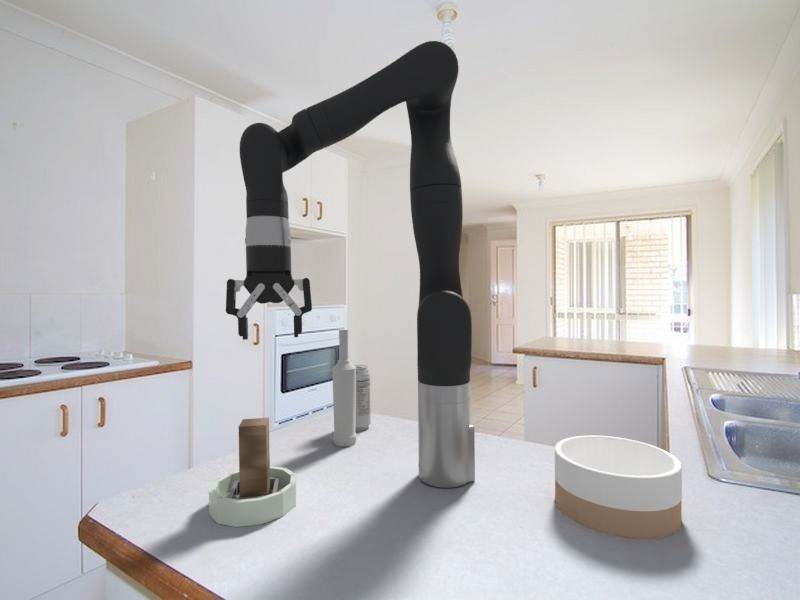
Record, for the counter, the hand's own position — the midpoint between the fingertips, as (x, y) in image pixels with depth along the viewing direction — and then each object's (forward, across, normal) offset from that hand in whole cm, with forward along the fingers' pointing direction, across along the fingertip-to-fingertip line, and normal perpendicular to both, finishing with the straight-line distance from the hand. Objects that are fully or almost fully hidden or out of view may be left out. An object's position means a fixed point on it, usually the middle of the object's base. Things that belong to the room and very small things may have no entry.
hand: (271, 338), depth 76 cm
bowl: (+26, -51, +22) cm, 62 cm away
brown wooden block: (+24, +2, +8) cm, 26 cm away
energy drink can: (+26, -18, -26) cm, 41 cm away
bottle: (+26, -14, -17) cm, 34 cm away
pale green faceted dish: (+25, +3, +8) cm, 27 cm away
